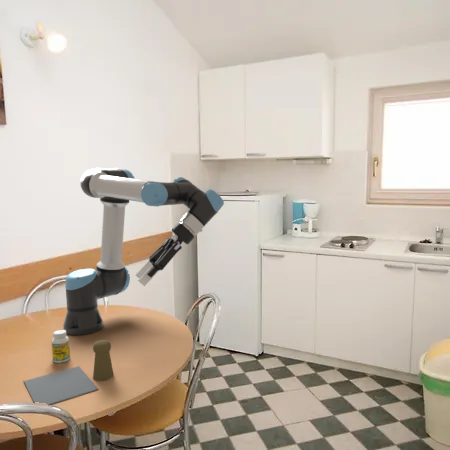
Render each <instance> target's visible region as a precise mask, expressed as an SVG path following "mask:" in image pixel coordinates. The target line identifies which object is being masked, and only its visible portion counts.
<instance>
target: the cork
mask: <svg viewBox="0 0 450 450" xmlns="http://www.w3.org/2000/svg"><path fill="white" fill-rule="evenodd" d="M111 348H112V345H111V342H110V341H109V340H107V339H100V340H97V341H95V342H94V343H93V346H92V350H93V352H94V363H93V374H92V375H93V376H92V379H93V380H94V381H96V382H104V381H108V380H111V379H112V378H113V377H114V369H113V364H112V363H113V362H112V359H111V354H110V351H111V350H112V349H111Z"/></svg>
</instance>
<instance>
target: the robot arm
mask: <svg viewBox="0 0 450 450" xmlns="http://www.w3.org/2000/svg"><path fill="white" fill-rule="evenodd" d="M79 185H80V187H81V190H82V192H83V193H84V194H85V195H87V197H90V198H96V199H99V200H100V203H101V204H102V205H103V213H102V230H101V232H102V233H101V246H100V247H101V248H100V260H99V261H98V262H97V263H96V267H95V268H96V269H94V268H84V269H83V268H82V269H81V268H80V269H76V270H74V271H72V272H70V273H68V274H67V275H66V277H65V285H64V287H65V298H66V314H65V318H64V321H63V326H62V327H63V329H62V330H66V335H72V336H81V335H88V334H89V335H90V334H93V333H96V332H98V331H101V330H102V329H103V327H104V321H103V318H102V315H101V313H100V309H99V308H98V300H100V299H103V298H107V297H112V296H116V295H119V294H121V293H123V292H125V291H126V290H127V289H128V287H129V285H130V281H131V279H130V278H131V277H130V273H129V270H128V268H127V267H125V266H126V265H125V263H124V262H123V261H122V259H123V248H124V245H123V244H124V233H125V232H124V231H125V228H124V227H125V216H126V207H127V205H129V204H130V201H131V202H136V203H137V202H139V203H142V204H143V203H144V204H145V205H146V206H149V207H160V206H174V205H175V206H176V205H177V206H178V205H183V206H186V208H188V209H189V210H188V211H186V213H185V214H183V216H182V217H181V218H180V219H179V222H176V224H175V225H174V226H173V227H172V228H171V232H172V234H174V235H173V236H171V237H170V236H168V237H167V238H166V240H164V242H163V243H162V244H161V245H160V246H159V247H158V248H157V249H156V250H155V251H154V252H153V253H152V254H151V255H150V256H149V259H148V260H147V261H146V263H145V264H143V266H142V267H141V268H140V269H139V270H138V271H137V272H136V273H135V277H136V278H138V280H137V281H138V282H139V283H140V284H141V285H142V286H143V287H146V286H147V284H148V283H150V281H151V280H152V279H153V277H155V276H156V274H157V273H158V272H160V271H163V270H164V268H165V267H166V266H167V265H168V264H169V263H170V261H171V260H172V259H173V258H174V257H175V255H177V253H178V252H179V251H180V250H182V246H181V245H182V244H183V243H184V244H185V245H189V244H190V243H191V242H192V241H193V240H194V238H195V236H197V235H198V234H199V233H202V232H203V228H204V227H205V226H206V225H207V224H208V223H209V222H210V221H211V220H212V219H213V218H214V217H215V216H216V215H217V214H218V213H219V211H220V210H221V209H222V207H223V206H224V204H225V202H224V200H223V198H222V197H221V195H219V194H218V193H217V192H216V191H215V190H213V189H211V188H209V189H207V190H206V191H205V192H204V191H203V190H201V189H200V188H198V187H197V186H196V185H195V184H193V182H192V181H190V180H188V179H186V178H184V177H182V176H181V177H180V176H179V177H177V178H174V179H173V180H172V182H161V181H153V180H144V179H143V180H142V179H136V178H135V176H134V174H133V173H132V172H131V171H130V170H128V169H123V168H120V167H119V168H118V167H113V168H110V167H109V168H104V167H95V168H91V169H88V170H86V171H85V172H84V173H83V174H82V176H81V178H80V184H79Z"/></svg>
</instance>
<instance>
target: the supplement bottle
mask: <svg viewBox="0 0 450 450" xmlns="http://www.w3.org/2000/svg"><path fill="white" fill-rule="evenodd" d="M52 335H53V338H52V339H51V355H52V362H54V363H57V364H61V363H65V362H68V361H69V360H70V359H71V350H70V348H71V347H70V338H69V336H67V334H66V330H63V329H60V330H55V331H53V334H52Z"/></svg>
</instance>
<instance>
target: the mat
mask: <svg viewBox="0 0 450 450" xmlns="http://www.w3.org/2000/svg"><path fill="white" fill-rule="evenodd" d="M23 383H24V385H25V387H26V389H27V391H28V393H29V395H30V397H31V399H32V401H33V403H34V402H39V403H46V404H51V405H53V404H57V403H61V402H64V401H67V400H71V399H73V398H76V397H80V396H83V395H85V394H90V393H92V392H95V391H98V390H99V388H98V387H97V385H96V384H95V383H94V382H93V380H92V379H91V378H90V377H89V376H88V375H87V373H85V371H84V370H83V369H82V368H81V366H80V365H77V366H73V367H71V368H67V369H62V370H59V371H56V372H52V373H48V374H45V375H41V376H38V377H33V378H30V379H26V380H23Z"/></svg>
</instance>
